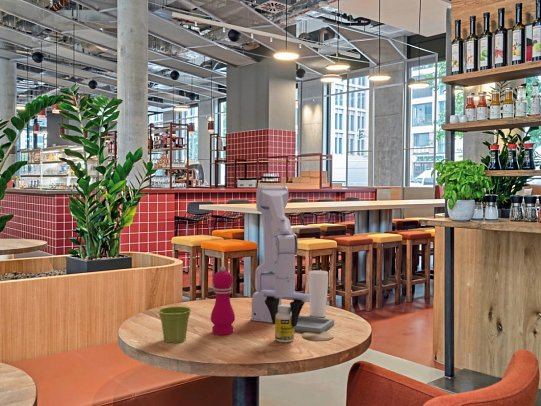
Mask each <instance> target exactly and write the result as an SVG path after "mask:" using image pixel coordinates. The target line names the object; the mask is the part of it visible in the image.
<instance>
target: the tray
mask: <svg viewBox="0 0 541 406" xmlns="http://www.w3.org/2000/svg"><path fill="white" fill-rule="evenodd" d="M334 326H335V319H331V318H325V317H324V318H323V317H312V316H307V315H301V314H299V317H298V321H297V325H296V326H295V327H294V332H297V333H298V332H299V333H305V332H314V333H322V332H323V331H325V332H327V331H328V330H330V329H331V328H332V327H334Z"/></svg>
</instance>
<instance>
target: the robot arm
mask: <svg viewBox="0 0 541 406" xmlns="http://www.w3.org/2000/svg"><path fill="white" fill-rule="evenodd" d="M255 191H256V192H255V193H256V194H255V198H256V202H255V203H256V205H255V206H256V211H257V212H259V213H261V215H262V221H263V222H262V227H263V230H262V231H263V232H262V233H263V262H262V263H261V264H260V265H258V266H257V268H256V269H255V276H254V288H255V292H254V293H253V294H252V298H251V318H250V320H251V321H255V322H256V321H257V322H263V323H270V324H271V323H272V324H273V325H275V315H276V314H277V313H278V312H279V311H278V305H282V300H287V301H288V300H289V301H290V302H289V305H290V306H291V313H292V322H291V323H292V327H295V326H296V325H297V321H298V317H299V315H301V314H300V313H301V311H302V309H303V307H304V305H305V303H308V302H309V303H310V294H309V293H304V292H300V291H296V290H295V289H296V255H297V254H298V249H299V247H298V245H299V244H298V238H297V237H298V236H297V234H295V232H293V230H292V226H291V225H292V224H291V222H290V221H291V220H290V219H289V218H288V217H287V216H286V215H285V209H286V207H287V205H288V203H289V193H290V192H289V188H288V187H287V186H286V185H283V186H282V185H276V186H275V185H271V186H270V185H266V186H265V185H257V188H256V190H255Z"/></svg>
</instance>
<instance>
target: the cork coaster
mask: <svg viewBox="0 0 541 406" xmlns="http://www.w3.org/2000/svg"><path fill="white" fill-rule="evenodd" d="M302 338H303V339H306V340H308V341H314V342H323V341H324V342H325V341H330V340H332V339H334V334H333V333H331V332H328V331H323V332H322V333H314V332H305V333H304V332H302Z"/></svg>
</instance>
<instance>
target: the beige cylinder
mask: <svg viewBox="0 0 541 406" xmlns="http://www.w3.org/2000/svg"><path fill="white" fill-rule="evenodd" d="M307 275H308V276H307V277H308V278H307V286H308V294H310V301H309V315H310V317H317V318H323V317H324V318H325V316H326V315H327V303H328V290H329V272H328V271H327V270H319V269H318V270H315V269H314V270H309V271H308V273H307Z"/></svg>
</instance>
